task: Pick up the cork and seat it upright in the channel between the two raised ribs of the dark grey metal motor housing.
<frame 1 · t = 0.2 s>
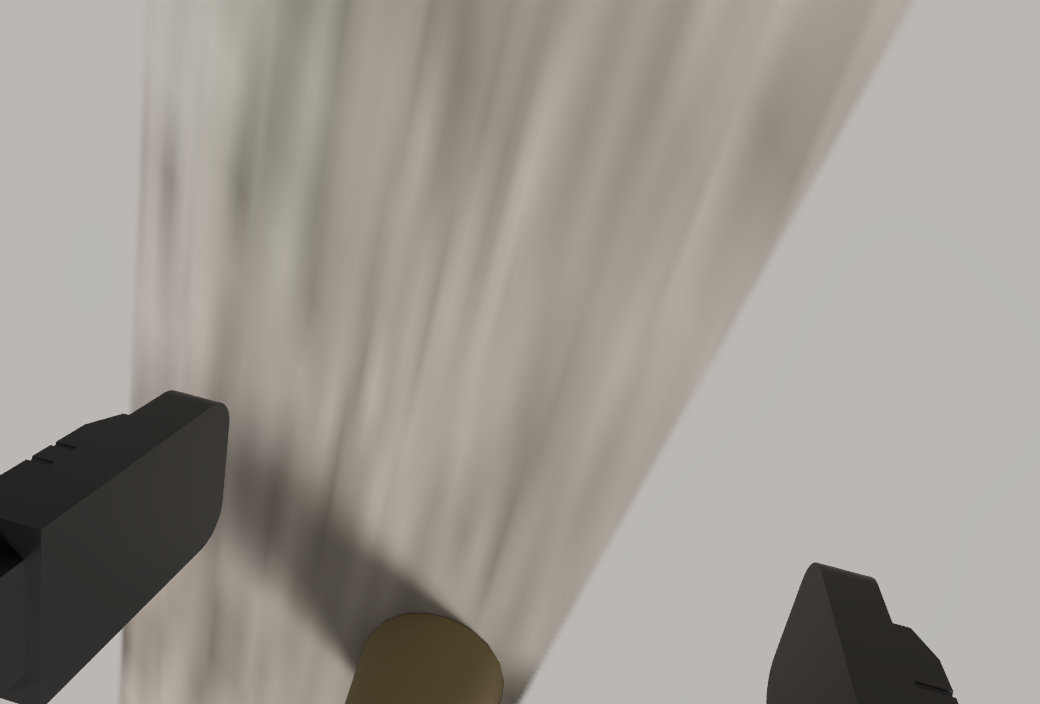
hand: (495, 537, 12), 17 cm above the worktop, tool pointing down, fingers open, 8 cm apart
cork: (433, 671, 36), on the worktop
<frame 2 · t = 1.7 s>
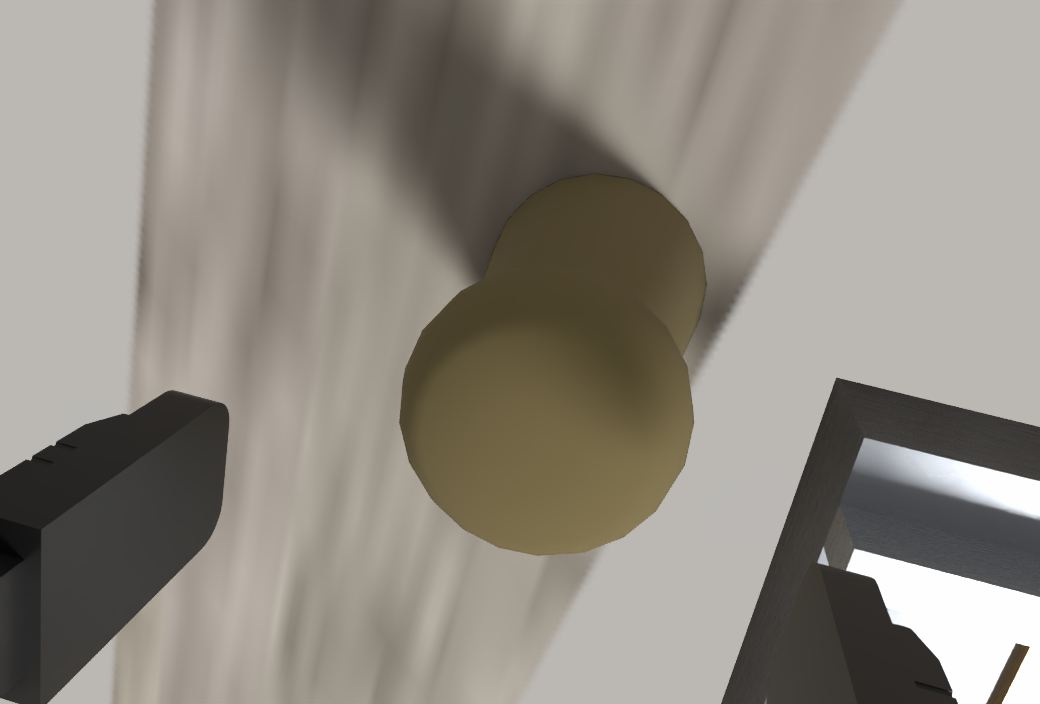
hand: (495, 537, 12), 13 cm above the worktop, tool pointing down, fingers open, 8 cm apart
cork: (596, 281, 24), on the worktop
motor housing: (964, 641, 26), on the worktop
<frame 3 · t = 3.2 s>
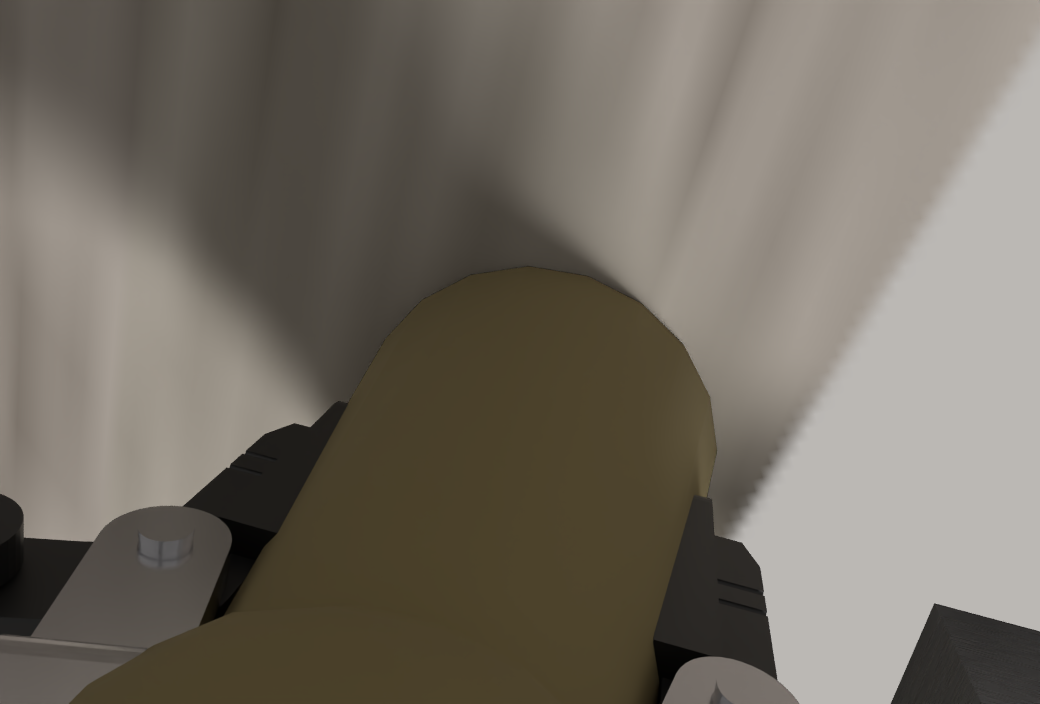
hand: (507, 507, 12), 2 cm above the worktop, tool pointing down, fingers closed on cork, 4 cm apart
cork: (534, 437, 15), on the worktop, touching gripper
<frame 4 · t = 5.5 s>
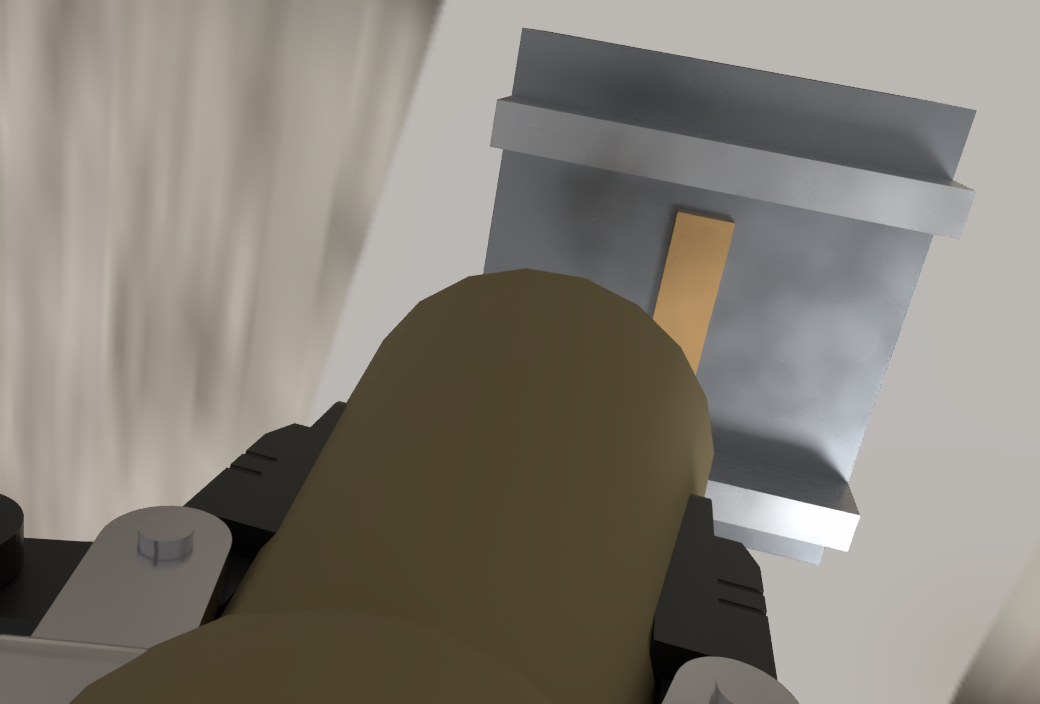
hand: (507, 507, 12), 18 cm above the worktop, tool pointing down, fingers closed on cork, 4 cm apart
cork: (532, 439, 15), point 15 cm above the worktop, touching gripper
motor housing: (681, 281, 29), on the worktop
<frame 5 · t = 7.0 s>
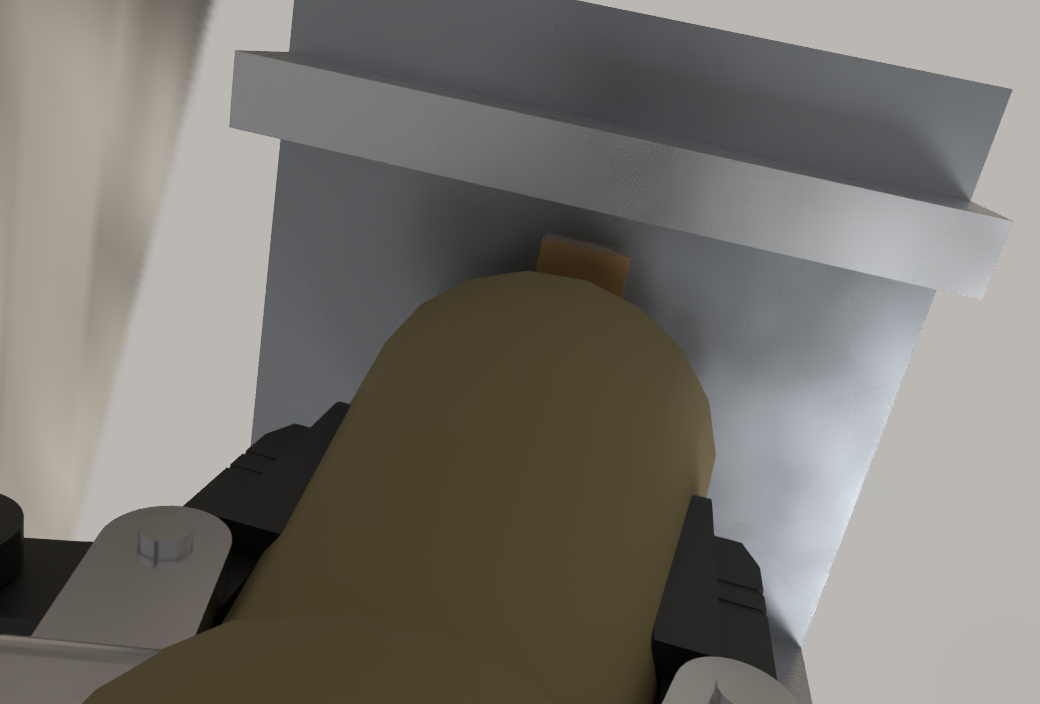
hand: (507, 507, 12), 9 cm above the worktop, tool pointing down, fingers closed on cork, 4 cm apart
cork: (534, 441, 15), point 6 cm above the worktop, touching gripper
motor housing: (577, 335, 20), on the worktop
when the fingers open (7 cm above the worktop, at t = 8.0 s): cork stays where it is, resting on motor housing.
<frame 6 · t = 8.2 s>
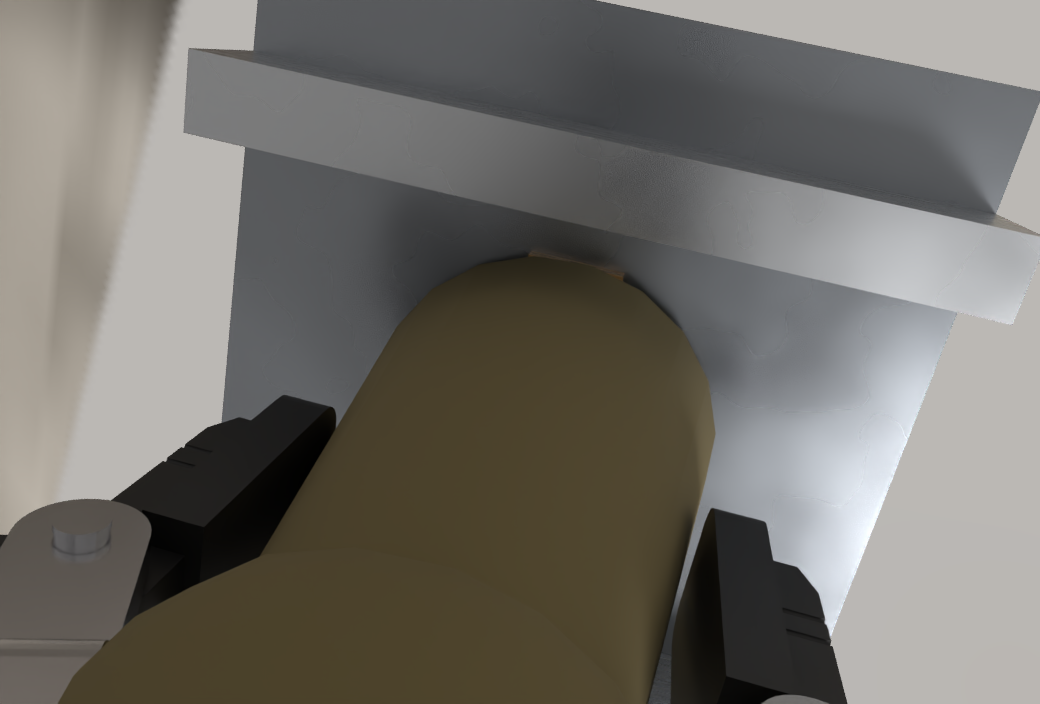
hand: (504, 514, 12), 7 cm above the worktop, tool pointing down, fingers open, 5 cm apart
cork: (540, 422, 15), point 4 cm above the worktop, touching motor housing
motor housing: (569, 353, 19), on the worktop
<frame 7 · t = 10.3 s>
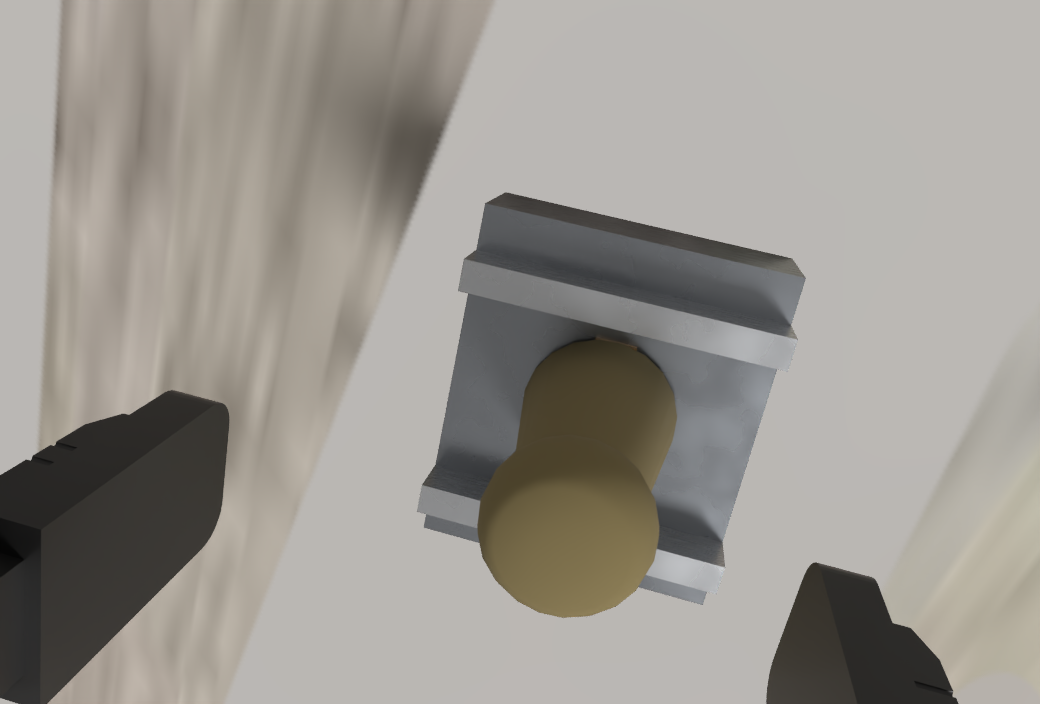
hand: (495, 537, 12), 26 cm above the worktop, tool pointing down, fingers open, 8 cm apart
cork: (598, 412, 34), point 4 cm above the worktop, touching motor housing
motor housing: (607, 381, 38), on the worktop
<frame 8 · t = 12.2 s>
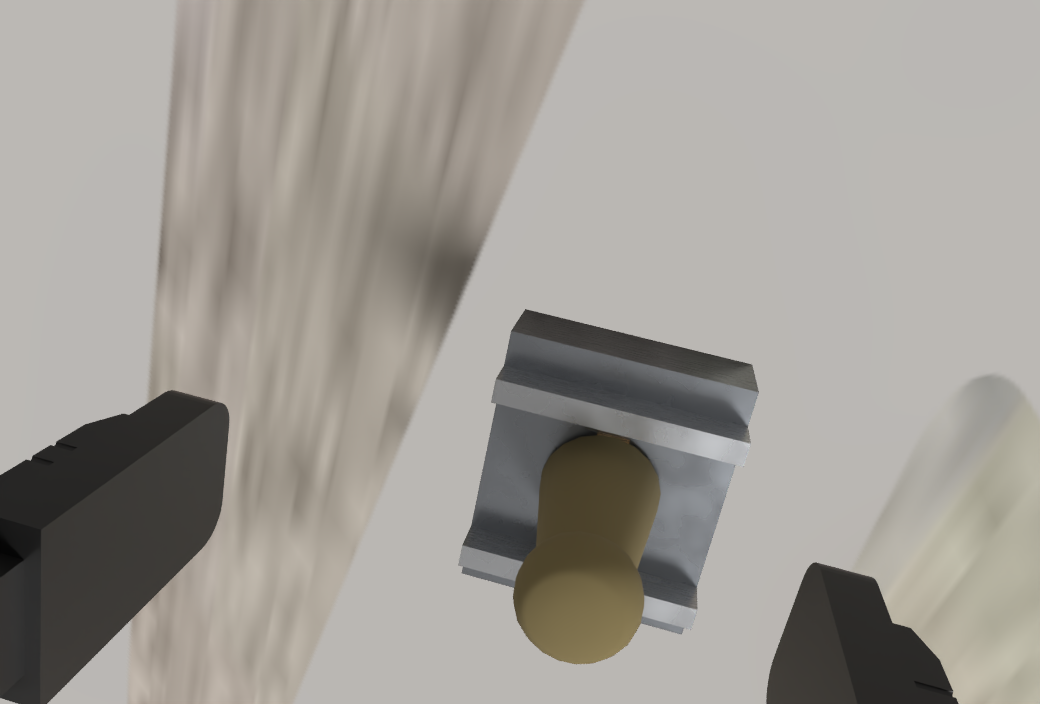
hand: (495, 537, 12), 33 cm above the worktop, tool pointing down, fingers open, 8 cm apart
cork: (599, 488, 43), point 4 cm above the worktop, touching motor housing
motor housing: (606, 455, 47), on the worktop
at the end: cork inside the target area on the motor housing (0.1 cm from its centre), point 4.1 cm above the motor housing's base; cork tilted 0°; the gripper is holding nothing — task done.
